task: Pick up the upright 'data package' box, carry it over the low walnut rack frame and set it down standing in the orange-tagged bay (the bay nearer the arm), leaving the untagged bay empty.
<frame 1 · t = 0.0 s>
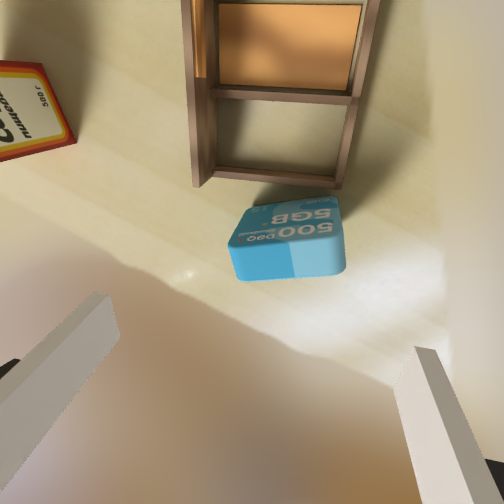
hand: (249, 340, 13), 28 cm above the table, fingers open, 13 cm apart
baking soda box: (41, 110, 39), on the table
rack: (280, 96, 32), on the table
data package: (292, 215, 39), on the table
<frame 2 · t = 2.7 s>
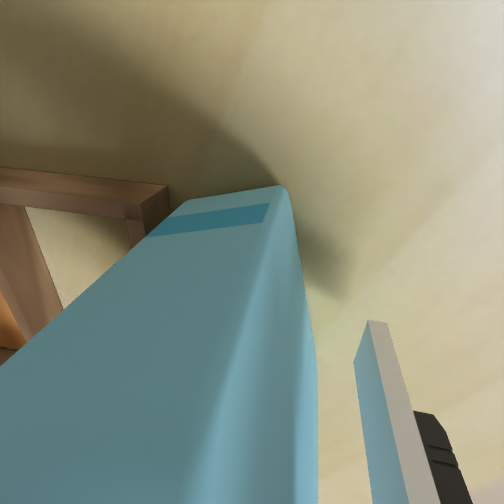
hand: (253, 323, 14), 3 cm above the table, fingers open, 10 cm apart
rack: (51, 291, 19), on the table
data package: (264, 286, 16), on the table
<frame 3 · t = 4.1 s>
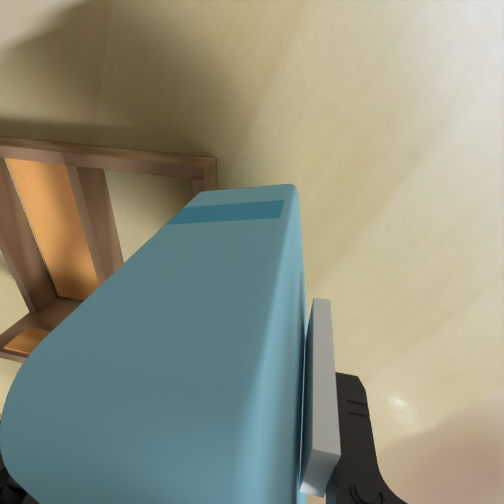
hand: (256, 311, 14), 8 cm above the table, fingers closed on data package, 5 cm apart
rack: (115, 246, 25), on the table
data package: (265, 278, 17), point 5 cm above the table, touching gripper
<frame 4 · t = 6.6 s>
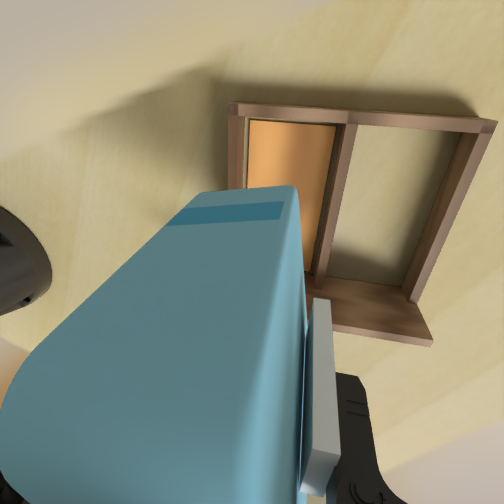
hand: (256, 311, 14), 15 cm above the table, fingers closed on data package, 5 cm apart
rack: (330, 208, 27), on the table
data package: (265, 279, 17), point 12 cm above the table, touching gripper
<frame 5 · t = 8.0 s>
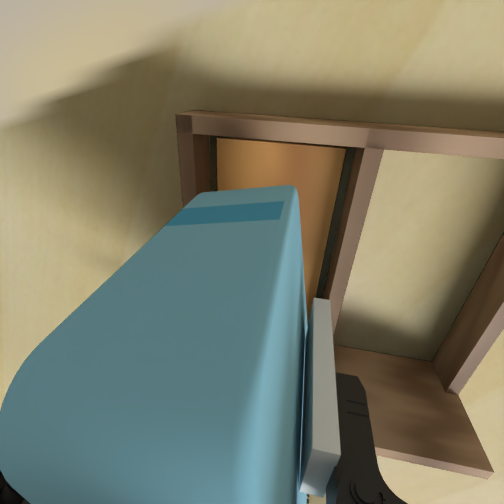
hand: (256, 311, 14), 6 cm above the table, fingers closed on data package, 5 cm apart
rack: (336, 261, 19), on the table
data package: (265, 279, 17), point 3 cm above the table, touching gripper
when the fingers open (4 cm above the table, at t = 9.2 s): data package stays where it is, resting on rack.
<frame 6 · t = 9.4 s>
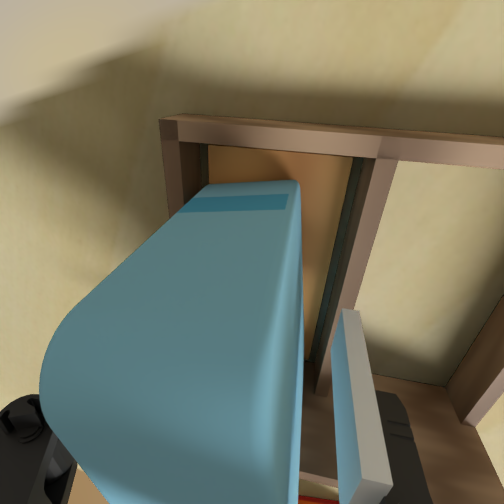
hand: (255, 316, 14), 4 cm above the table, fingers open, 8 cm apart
rack: (341, 280, 17), on the table
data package: (265, 270, 18), resting on rack
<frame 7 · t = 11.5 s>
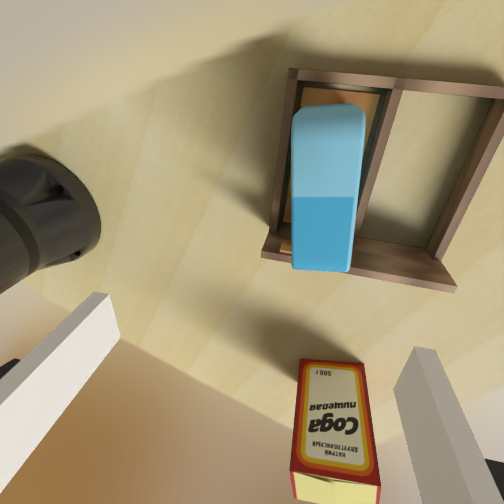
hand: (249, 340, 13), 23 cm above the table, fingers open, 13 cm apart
baking soda box: (331, 374, 46), on the table
rack: (368, 171, 30), on the table
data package: (323, 167, 30), resting on rack
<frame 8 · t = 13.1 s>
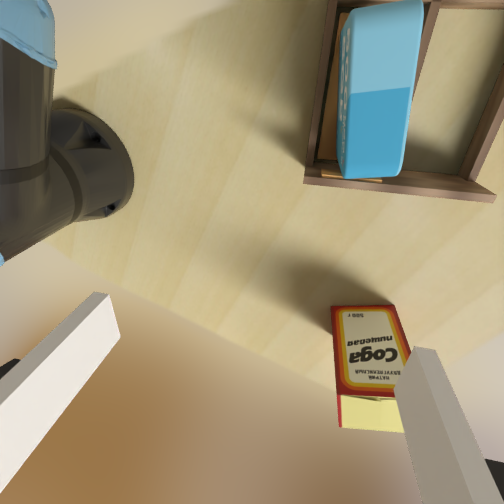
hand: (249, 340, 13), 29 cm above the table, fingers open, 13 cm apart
baking soda box: (361, 320, 47), on the table
rack: (402, 98, 31), on the table
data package: (358, 96, 32), resting on rack
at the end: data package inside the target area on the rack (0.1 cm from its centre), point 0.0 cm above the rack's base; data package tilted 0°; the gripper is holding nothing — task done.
